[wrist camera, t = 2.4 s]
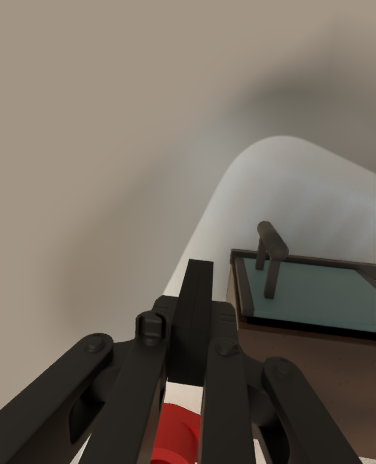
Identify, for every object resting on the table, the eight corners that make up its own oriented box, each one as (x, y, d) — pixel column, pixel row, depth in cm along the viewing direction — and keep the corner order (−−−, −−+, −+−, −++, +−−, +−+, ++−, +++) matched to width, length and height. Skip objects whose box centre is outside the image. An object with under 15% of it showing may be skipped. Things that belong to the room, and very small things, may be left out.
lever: (138, 438, 45) (125, 485, 39) (144, 397, 42) (131, 440, 36) (242, 463, 44) (246, 516, 38) (256, 423, 41) (262, 473, 35)
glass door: (240, 213, 31) (252, 247, 20) (375, 226, 30) (466, 270, 19) (234, 261, 33) (241, 315, 22) (361, 275, 31) (436, 340, 20)
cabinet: (231, 248, 33) (238, 309, 20) (434, 270, 31) (586, 353, 18) (220, 335, 37) (220, 433, 24) (399, 360, 35) (504, 481, 22)
